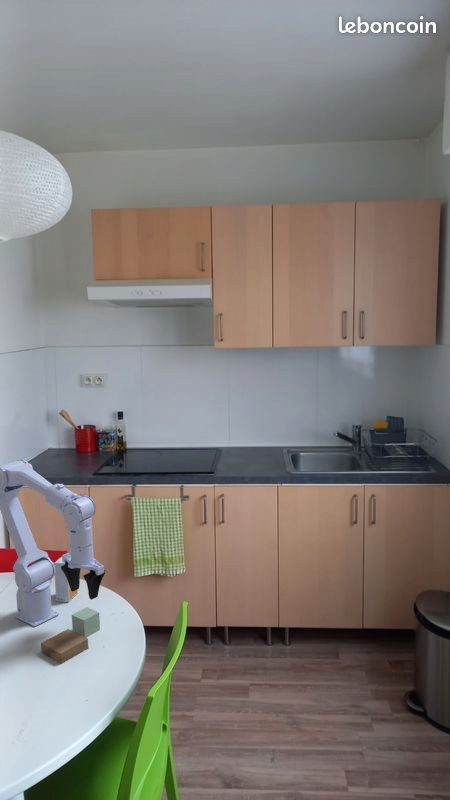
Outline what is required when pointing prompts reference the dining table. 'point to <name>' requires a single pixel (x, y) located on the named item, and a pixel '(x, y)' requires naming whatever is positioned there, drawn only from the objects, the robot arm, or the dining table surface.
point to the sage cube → (86, 622)
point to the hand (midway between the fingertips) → (84, 593)
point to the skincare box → (62, 584)
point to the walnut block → (64, 646)
